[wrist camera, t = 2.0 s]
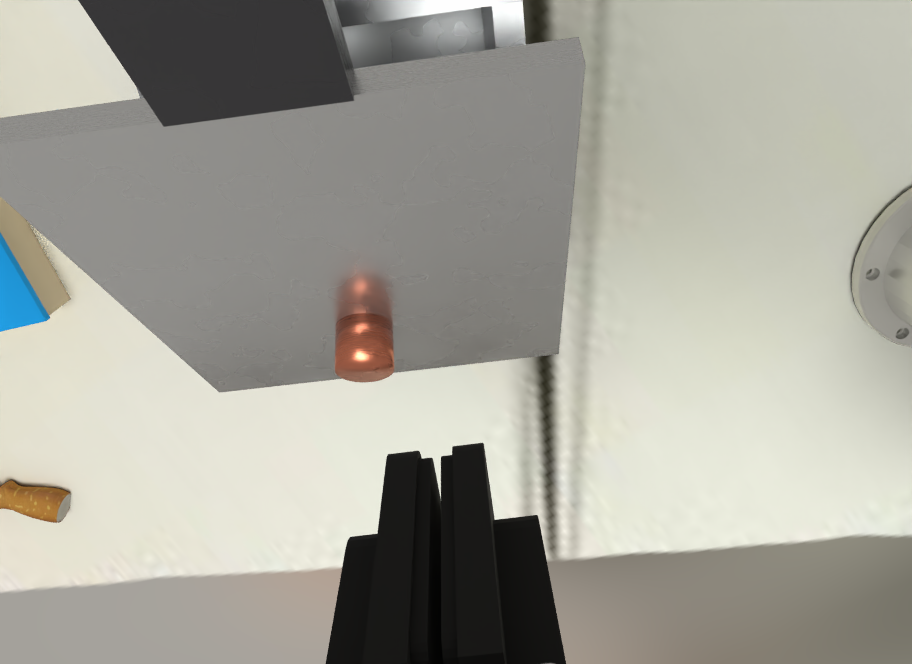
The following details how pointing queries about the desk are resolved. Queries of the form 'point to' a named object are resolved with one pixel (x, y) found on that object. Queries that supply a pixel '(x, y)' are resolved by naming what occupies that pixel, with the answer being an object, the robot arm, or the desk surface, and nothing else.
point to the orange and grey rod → (35, 501)
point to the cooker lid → (311, 193)
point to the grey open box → (426, 28)
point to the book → (25, 274)
